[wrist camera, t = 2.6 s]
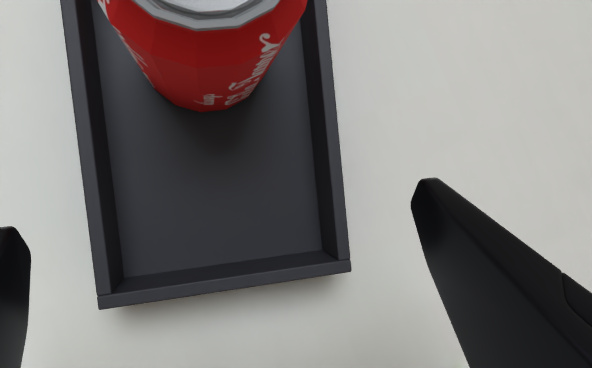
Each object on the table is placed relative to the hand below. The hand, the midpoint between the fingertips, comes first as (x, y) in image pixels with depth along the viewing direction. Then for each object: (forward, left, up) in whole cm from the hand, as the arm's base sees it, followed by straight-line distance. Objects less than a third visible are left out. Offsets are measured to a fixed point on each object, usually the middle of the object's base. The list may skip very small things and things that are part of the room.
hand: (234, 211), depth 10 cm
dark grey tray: (+3, +2, -13) cm, 14 cm away
